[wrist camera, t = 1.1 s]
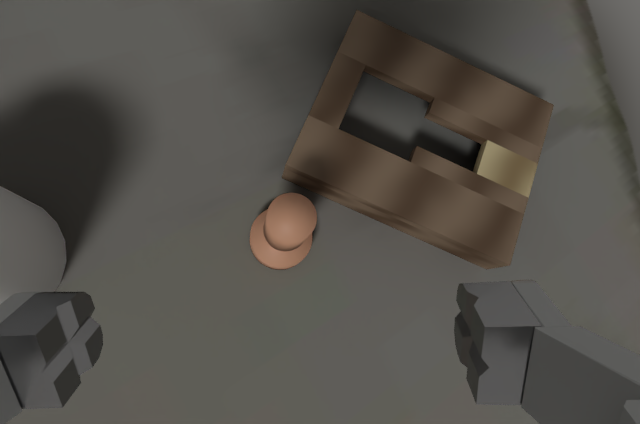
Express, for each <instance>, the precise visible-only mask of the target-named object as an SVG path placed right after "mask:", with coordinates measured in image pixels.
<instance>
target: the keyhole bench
mask: <svg viewBox="0 0 640 424" xmlns="http://www.w3.org/2000/svg"><path fill="white" fill-rule="evenodd" d="M363 71H364V72H366V73H368V74H370V75H372V76H374V77H377V78H379V79H381V80H383V81H385V82H387V83H389V84H391V85H393V86H396V87H398V88H400V89H402V90H404V91H406V92H408V93H410V94H412V95H415V96H417V97H419V98H421V99H423V100H425V101H427V102H429V103H430V104H429V106H428V109H427V112H426V114H425V117H424V118H426V119H429V120H431V121H433V122H435V123H437V124H439V125H441V126H443V127H446V128H448V129H450V130H452V131H454V132H456V133H458V134H461V135H463V136H465V137H467V138H469V139H471V140H473V141H475V142H478V143H480V144H481V147H480V150H479V153H478V157H477V160H476V163H475V166H474V169H473V172H472V171H470V170H468V169H466V168H463V167H461V166H459V165H457V164H455V163H453V162H451V161H448V160H446V159H444V158H442V157H440V156H438V155H435V154H433V153H431V152H429V151H427V150H425V149H422V148H420V147H418V146H416V147H415V148H414V149H413V150H412V152H411V155H410V158H409V160H408V161H407V160H405V159H403V158H401V157H398V156H396V155H394V154H392V153H390V152H388V151H385V150H383V149H381V148H379V147H377V146H375V145H372V144H370V143H368V142H366V141H364V140H362V139H359V138H357V137H355V136H353V135H351V134H348V133H346V132H344V131H342V130H340V129H339V127H340V124H341V122H342V120H343V117H344V115H345V113H346V110H347V108H348V106H349V104H350V101H351V99H352V97H353V94H354V92H355V90H356V87H357V85H358V83H359V80H360V78H361V76H362V73H363ZM553 106H554V105H553V104H551V103H549V102H547V101H545V100H543V99H540V98H538V97H536V96H534V95H532V94H530V93H528V92H526V91H524V90H522V89H520V88H518V87H516V86H514V85H512V84H509V83H507V82H505V81H503V80H501V79H499V78H497V77H495V76H493V75H491V74H489V73H487V72H485V71H483V70H480V69H478V68H476V67H474V66H472V65H470V64H468V63H466V62H464V61H462V60H460V59H458V58H456V57H454V56H452V55H449V54H447V53H445V52H443V51H441V50H439V49H437V48H435V47H433V46H431V45H429V44H427V43H425V42H423V41H421V40H418V39H416V38H414V37H412V36H410V35H408V34H406V33H404V32H402V31H400V30H398V29H396V28H394V27H392V26H389V25H387V24H385V23H383V22H381V21H379V20H377V19H375V18H373V17H371V16H369V15H367V14H365V13H363V12H361V11H358V10H356V12H355V15H354V17H353V19H352V21H351V23H350V25H349V28H348V30H347V32H346V34H345V36H344V39H343V41H342V43H341V45H340V47H339V49H338V52H337V54H336V56H335V58H334V60H333V63H332V65H331V67H330V69H329V71H328V73H327V76H326V78H325V80H324V82H323V84H322V87H321V89H320V91H319V93H318V95H317V97H316V100H315V102H314V104H313V106H312V108H311V111H310V113H309V115H308V117H307V119H306V121H305V124H304V126H303V128H302V130H301V132H300V135H299V137H298V139H297V141H296V143H295V145H294V148H293V150H292V152H291V154H290V156H289V158H288V161H287V163H286V165H285V169H284V172H283V175H282V178H283V179H285V180H288V181H290V182H292V183H294V184H297V185H299V186H301V187H303V188H306V189H308V190H310V191H312V192H315V193H317V194H319V195H321V196H324V197H326V198H328V199H330V200H332V201H335V202H337V203H339V204H341V205H344V206H346V207H348V208H350V209H353V210H355V211H357V212H359V213H362V214H364V215H366V216H368V217H371V218H373V219H375V220H377V221H380V222H382V223H384V224H386V225H389V226H391V227H393V228H395V229H397V230H400V231H402V232H404V233H406V234H409V235H411V236H413V237H415V238H418V239H420V240H422V241H424V242H427V243H429V244H431V245H433V246H436V247H438V248H440V249H442V250H445V251H447V252H449V253H451V254H454V255H456V256H458V257H460V258H462V259H465V260H467V261H469V262H471V263H474V264H476V265H478V266H480V267H483V268H485V269H491V268H497V267H503V266H509V265H510V264H511V260H512V256H513V253H514V249H515V245H516V242H517V238H518V234H519V231H520V227H521V223H522V220H523V216H524V212H525V209H526V205H527V201H528V198H529V194H530V190H531V187H532V183H533V179H534V176H535V172H536V168H537V165H538V161H539V157H540V154H541V150H542V146H543V143H544V139H545V135H546V132H547V128H548V124H549V121H550V117H551V113H552V110H553Z"/></svg>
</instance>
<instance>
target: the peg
mask: <svg viewBox="0 0 640 424" xmlns="http://www.w3.org/2000/svg"><path fill="white" fill-rule="evenodd" d="M316 222H317V213H316V210H315V207H314V205H313V204H312V202H311V201H310V200H309V199H308V198H306V197H305V196H303V195H301V194H298V193H285V194H282V195H280V196H278V197H277V198H275V199H274V200H273V201H272V203H271V204H270V206H269V208H268V209H267V210H265V211H264V212H262V213H261V214H260V215H259V216H258V217H257V218H256V220H255V221H254V223H253V225H252V228H251V232H250V247H251V250H252V252H253V254H254V256H255V257H256V259H257V260H258V261H259V262H260V263H261V264H263V265H264V266H266V267H269V268H271V269H277V270H283V269H288V268H291V267H293V266H295V265H297V264H298V263H299V262H301V261H302V260H303V259H304V258H305V257H306V255H307V254H308V252H309V250H310V248H311V245H312V232H313V230H314V228H315V226H316Z"/></svg>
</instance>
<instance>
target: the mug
mask: <svg viewBox="0 0 640 424" xmlns="http://www.w3.org/2000/svg"><path fill="white" fill-rule="evenodd" d="M66 262H67V260H66V244H65V239H64V237H63V235H62V232H61V230H60V228H59V226H58V224H57V222H56V221H55V220H54V219H53V218H52V217H51V216H50V215H49V214H48V213H47V212H46V211H45V210H44V209H43V208H42V207H40V206H38V205H36V204H34V203H32V202H30V201H28V200H26V199H24V198H23V197H21V196H19V195H17V194H15V193H13V192H11V191H9V190H7V189H5V188H3V187H1V186H0V304H1V303H3V302H4V301H5V300H6V299H8V298H9V297H10V296H11V295H13V294H16V293H21V292H55V290H56V289H57V287H58V286H59V284H60V283H61V280H62V276H63V273H64V269H65V265H66Z"/></svg>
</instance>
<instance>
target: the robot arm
mask: <svg viewBox="0 0 640 424" xmlns="http://www.w3.org/2000/svg"><path fill="white" fill-rule="evenodd" d="M456 301H457V303H458V305H459V308H460V310H461V312H460V313H459V314H458V315H457V316H456V317H455V327H454V334H455V345H456V349H457V354H458V356H459V359H460V362H461V363H462V364H463V365H465V366H466V367H467V378H466V379H467V381H468V384H469V386H470V389H471V392H472V394H473V397H474V400H475V402H476V404H489V405H522V406H521V407H522V408H523V409H524V410H525V411H526V412H527V413H528V414H530V415H531V416H532V417H533V418H534V419H535V420H536V421H537V422H539V423H540V424H640V355H639V354H636V353H634V352H632V351H630V350H628V349H626V348H624V347H622V346H620V345H618V344H616V343H614V342H612V341H610V340H608V339H606V338H604V337H602V336H599V335H597V334H595V333H593V332H591V331H589V330H587V329H585V328H583V327H581V326H572V325H571V324H570V323H569V322H568V320H567V319H566V318H565V317H564V315H563V314H562V313H561V312H560V310H559V309H558V308H557V307H556V305H555V304H554V303H553V302H552V300H551V299H550V298H549V297H548V295H547V294H546V293H545V292H544V291H543V289H542V288H541V287H540V286H539V284H538V283H537V282H536V281H534V280H517V281H501V282H480V283H461V284H459V286H458V290H457V299H456ZM94 309H95V307H94V304H93V301H92V299H91V296H90V295H88V294H87V293H85V292H21V293H16V294H13V295H11V296H10V297H9V298H8V299H6V300H5V301H4V302H3V303H1V304H0V424H5V423H7V422H8V421H9V420H11V419H12V418H13V417H15V416H16V415H18V414H19V413H20V412H22V409H37V408H63V406H64V405H65V404H66V402H67V401H68V400H69V398H70V397H71V396H72V394H73V393H74V392H75V390H76V389H77V388H78V386H79V385H80V384H81V380H80V375H81V374H82V373H84V372H86V371H87V370H89V369H91V368H92V367H93V366H94V364H95V363H96V361H97V360H98V358H99V356H100V353H101V350H102V346H103V334H102V330H101V327H100V324H99V323H97V322H96V321H95V320H94V319H93V318H92V317H91V315H92V313H93V311H94Z"/></svg>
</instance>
